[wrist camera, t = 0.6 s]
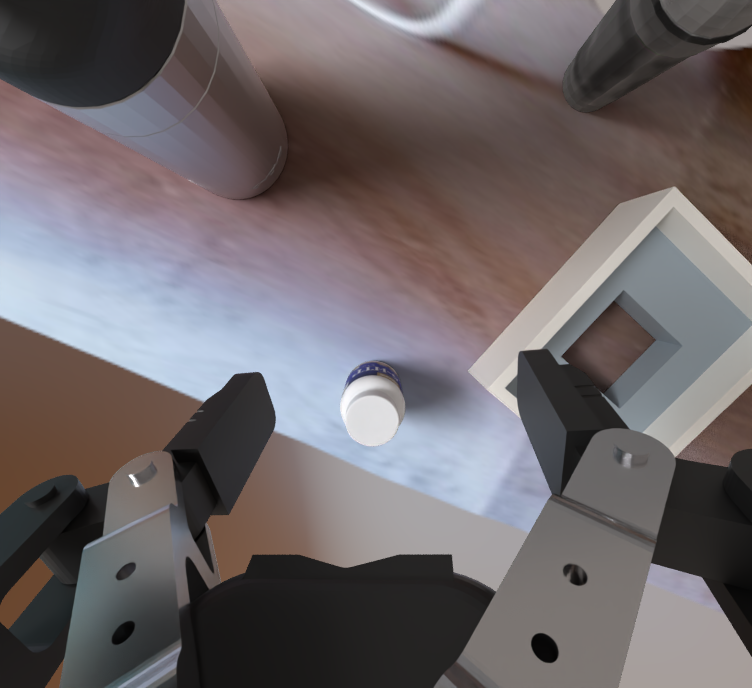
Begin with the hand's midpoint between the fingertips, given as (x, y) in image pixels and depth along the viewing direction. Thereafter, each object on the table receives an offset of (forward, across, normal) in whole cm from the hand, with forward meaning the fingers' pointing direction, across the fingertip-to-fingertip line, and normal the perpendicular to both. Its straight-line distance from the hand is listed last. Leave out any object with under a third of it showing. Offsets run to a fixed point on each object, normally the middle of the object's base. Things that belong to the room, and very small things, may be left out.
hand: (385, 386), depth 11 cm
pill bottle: (+20, +4, +13) cm, 24 cm away
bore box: (+23, -17, +12) cm, 31 cm away
